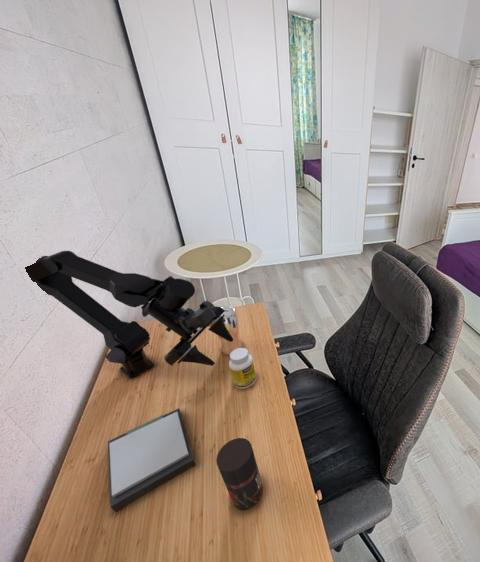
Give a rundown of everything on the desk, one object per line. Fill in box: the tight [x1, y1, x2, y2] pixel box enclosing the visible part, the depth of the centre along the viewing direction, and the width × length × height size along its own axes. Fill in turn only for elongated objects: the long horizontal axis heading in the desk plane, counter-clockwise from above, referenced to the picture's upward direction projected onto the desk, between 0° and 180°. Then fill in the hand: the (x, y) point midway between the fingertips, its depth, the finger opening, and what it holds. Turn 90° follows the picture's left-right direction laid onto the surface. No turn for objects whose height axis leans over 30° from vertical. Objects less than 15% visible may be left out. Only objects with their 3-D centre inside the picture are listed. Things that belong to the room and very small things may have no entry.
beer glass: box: [216, 305, 243, 356], centre depth 90 cm, size 7×7×15 cm
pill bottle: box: [228, 347, 257, 390], centre depth 81 cm, size 6×6×11 cm
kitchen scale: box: [107, 408, 197, 513], centre depth 63 cm, size 16×14×3 cm
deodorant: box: [215, 437, 264, 511], centre depth 55 cm, size 6×6×15 cm
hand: (223, 352), depth 78 cm, fingers open, 9 cm apart
